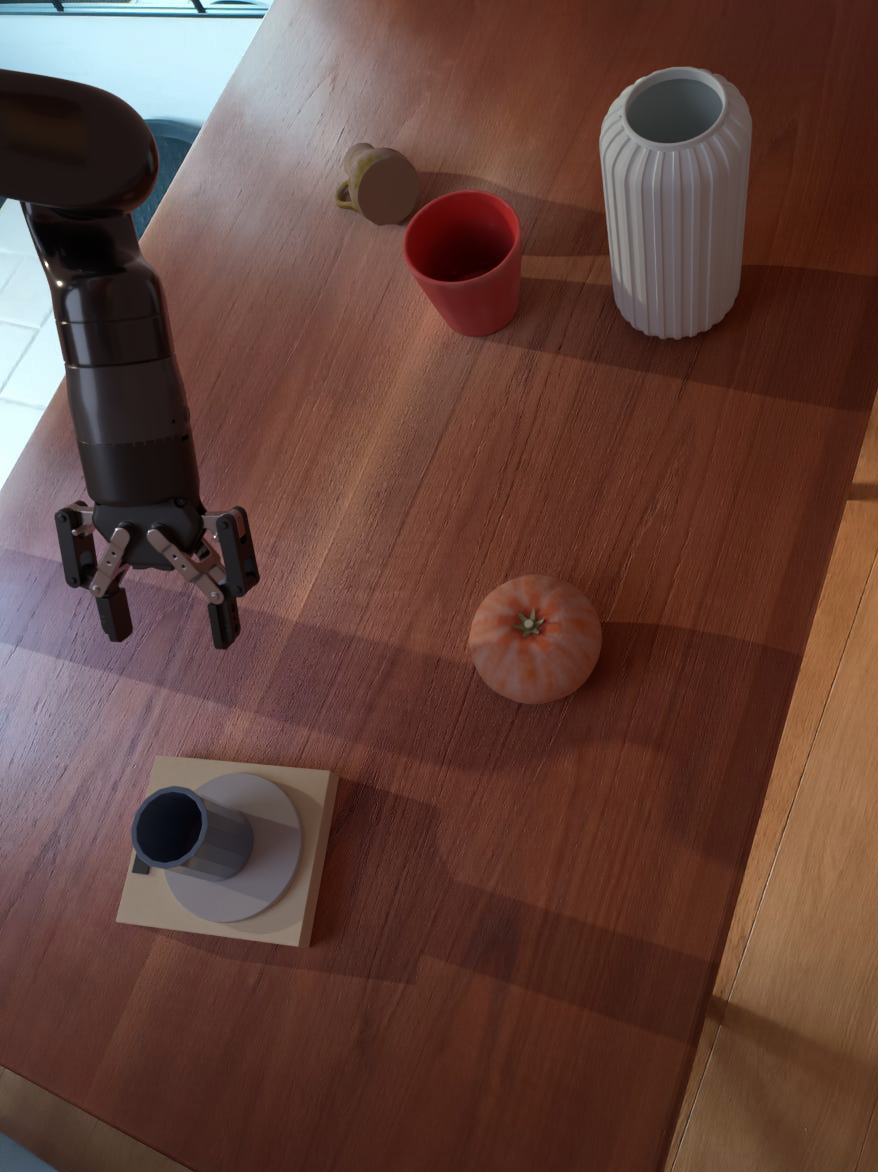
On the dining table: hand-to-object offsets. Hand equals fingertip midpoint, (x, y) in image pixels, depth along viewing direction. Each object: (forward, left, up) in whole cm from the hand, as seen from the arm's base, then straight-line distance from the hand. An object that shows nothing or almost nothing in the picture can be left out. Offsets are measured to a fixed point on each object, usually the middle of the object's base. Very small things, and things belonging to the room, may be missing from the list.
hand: (173, 641), depth 74 cm
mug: (+2, +56, -15) cm, 58 cm away
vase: (+34, +42, -15) cm, 56 cm away
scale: (+1, -13, -15) cm, 20 cm away
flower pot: (+15, +42, -15) cm, 47 cm away
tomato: (+25, +6, -15) cm, 30 cm away
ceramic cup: (+1, -13, -12) cm, 18 cm away
